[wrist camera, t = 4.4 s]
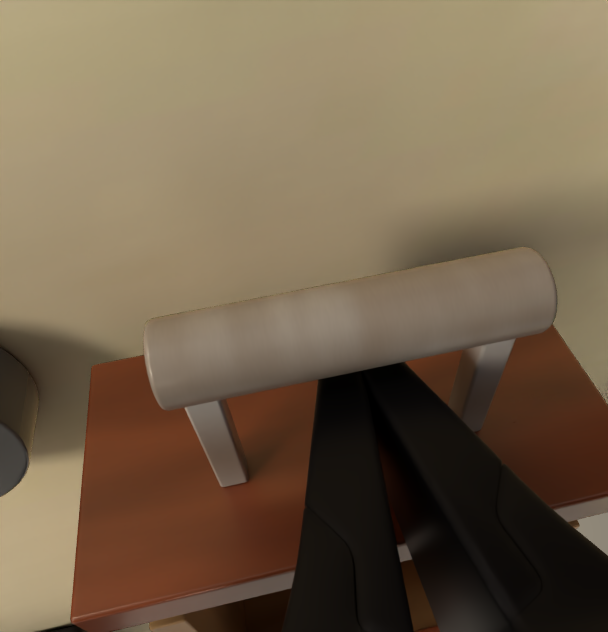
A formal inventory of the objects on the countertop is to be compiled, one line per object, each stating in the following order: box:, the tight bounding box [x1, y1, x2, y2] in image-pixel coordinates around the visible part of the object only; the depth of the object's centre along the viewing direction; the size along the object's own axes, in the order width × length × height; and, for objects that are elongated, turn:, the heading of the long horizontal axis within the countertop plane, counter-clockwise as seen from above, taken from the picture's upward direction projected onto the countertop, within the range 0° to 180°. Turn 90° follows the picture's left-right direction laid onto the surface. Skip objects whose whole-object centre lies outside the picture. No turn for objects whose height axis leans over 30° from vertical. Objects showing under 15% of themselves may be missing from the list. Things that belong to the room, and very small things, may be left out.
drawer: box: [70, 247, 608, 632], centre depth 15 cm, size 18×11×6 cm, turn 4°
